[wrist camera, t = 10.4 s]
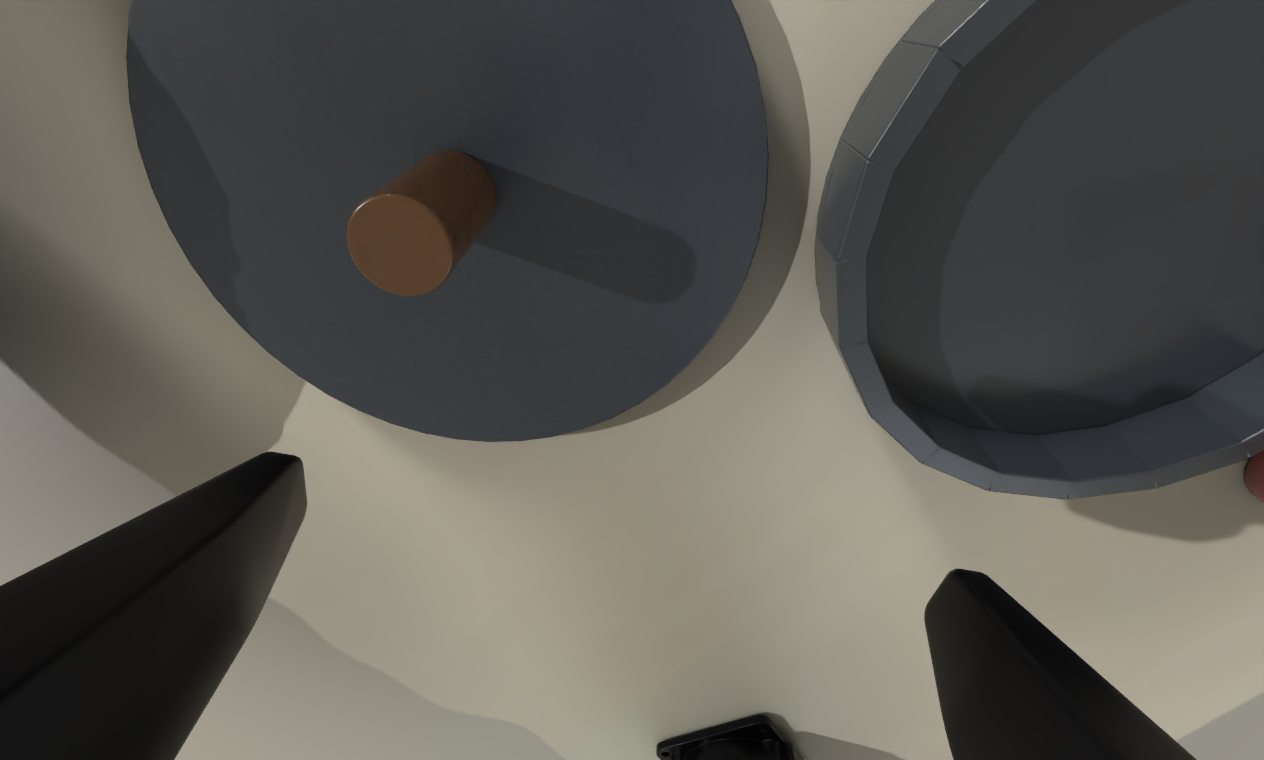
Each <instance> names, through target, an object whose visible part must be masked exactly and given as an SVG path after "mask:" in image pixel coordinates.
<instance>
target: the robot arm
mask: <svg viewBox="0 0 1264 760" xmlns="http://www.w3.org/2000/svg"><path fill="white" fill-rule="evenodd" d="M306 508H307V497H306V488H305V478H304V469H303V463H302V461H301V459H300V458H299V457H297V456H294V455H288V454H282V453H276V452H265V453H262V454H260V455H258V456H256V457H254V458H252V459H250V460H248V461H246V462H244V463H242V464H240V465H238V466H236V467H234V468H232V469H230V470H228V471H226V472H224V473H222V474H220V475H219V476H217V477H215V478H213V479H211V480H209V481H207V482H205V483H203V484H201V485H199V486H197V487H195V488H193V489H191V490H189V491H187V492H185V493H183V494H181V495H179V496H177V497H175V498H173V499H171V500H169V501H167V502H165V503H163V504H162V505H159V506H157V507H155V508H153V509H151V510H149V511H147V512H146V513H143V514H142V515H140V516H138V517H136V518H134V519H132V520H130V521H128V522H126V523H124V524H122V525H120V526H118V527H116V528H114V529H112V530H110V531H108V532H106V533H104V534H102V535H100V536H98V537H96V538H94V539H92V540H90V541H88V542H87V543H84V544H82V545H80V546H78V547H77V548H74V549H72V550H70V551H68V552H67V553H65V554H63V555H61V556H59V557H57V558H55V559H53V560H51V561H49V562H47V563H45V564H43V565H41V566H39V567H37V568H35V569H33V570H31V571H29V572H27V573H25V574H23V575H21V576H19V577H17V578H15V579H14V580H11V581H9V582H7V583H5V584H3V585H2V586H0V760H174V759H175V758H176V756H177V754H178V753H179V751H180V749H181V747H182V746H183V744H184V743H185V741H186V739H187V738H188V736H189V734H190V732H191V731H192V729H193V727H194V726H195V724H196V723H197V721H198V719H199V718H200V716H201V714H202V713H203V711H204V709H205V707H206V706H207V704H208V703H209V701H210V699H211V698H212V696H213V694H214V693H215V691H216V689H217V688H218V686H219V684H220V682H221V681H222V679H223V677H224V676H225V674H226V673H227V671H228V669H229V668H230V666H231V664H232V663H233V661H234V659H235V657H236V656H237V654H238V653H239V651H240V649H241V648H242V646H243V644H244V642H245V641H246V639H247V637H248V635H249V634H250V632H251V630H252V628H253V626H254V625H255V623H256V620H257V618H258V617H259V614H260V612H261V610H262V608H263V606H264V604H265V602H266V599H267V598H268V595H269V593H270V591H271V589H272V587H273V585H274V582H275V580H276V578H277V576H278V574H279V571H280V569H281V567H282V565H283V563H284V561H285V558H286V556H287V554H288V552H289V550H290V548H291V545H292V543H293V541H294V539H295V537H296V535H297V532H298V530H299V528H300V526H301V524H302V521H303V519H304V516H305V513H306ZM925 626H926V632H927V637H928V642H929V648H930V653H931V658H932V664H933V669H934V675H935V680H936V685H937V691H938V696H939V701H940V707H941V712H942V716H943V721H944V726H945V730H946V734H947V738H948V741H949V745H950V749H951V752H952V756H953V759H954V760H1196V759H1195V758H1194V757H1193V756H1192V755H1191V754H1189V753H1188V752H1187V751H1186V750H1185V749H1184V748H1183V747H1181V746H1180V745H1179V744H1178V743H1177V742H1176V741H1175V740H1174V739H1173V738H1171V737H1170V736H1169V735H1168V734H1167V733H1166V732H1165V731H1163V730H1162V729H1161V728H1160V727H1159V726H1158V725H1157V724H1155V723H1154V722H1153V721H1152V720H1151V719H1150V718H1149V717H1148V716H1146V715H1145V714H1144V713H1143V712H1142V711H1141V710H1140V709H1138V708H1137V707H1136V706H1135V705H1134V704H1133V703H1132V702H1130V701H1129V700H1128V699H1127V698H1126V697H1125V696H1124V695H1122V694H1121V693H1120V692H1119V691H1118V690H1117V689H1116V688H1115V687H1113V686H1112V685H1111V684H1110V683H1109V682H1108V681H1107V680H1105V679H1104V678H1103V677H1102V676H1101V675H1100V674H1099V673H1097V672H1096V671H1095V670H1094V669H1093V668H1092V667H1091V666H1090V665H1088V664H1087V663H1086V662H1085V661H1084V660H1083V659H1082V658H1080V657H1079V656H1078V655H1077V654H1076V653H1075V652H1074V651H1072V650H1071V649H1070V648H1069V647H1068V646H1067V645H1066V644H1064V643H1063V642H1062V641H1061V640H1060V639H1059V638H1058V637H1057V636H1055V635H1054V634H1053V633H1052V632H1051V631H1050V630H1049V629H1047V628H1046V627H1045V626H1044V625H1043V624H1042V623H1041V622H1039V621H1038V620H1037V619H1036V618H1035V617H1034V616H1033V615H1032V614H1030V613H1029V612H1028V611H1027V610H1026V609H1025V608H1024V607H1022V606H1021V605H1020V604H1019V603H1018V602H1017V601H1016V600H1014V599H1013V598H1012V597H1011V596H1010V595H1009V594H1008V593H1007V592H1005V591H1004V590H1003V589H1002V588H1001V587H1000V586H999V585H997V584H996V583H995V582H994V581H993V580H992V579H991V578H989V577H988V576H987V575H985V574H983V573H980V572H976V571H970V570H964V569H954V570H952V571H950V572H949V573H948V574H947V576H946V577H945V578H944V580H943V581H942V583H941V584H940V586H939V587H938V589H937V590H936V592H935V593H934V594H933V596H932V597H931V599H930V600H929V602H928V604H927V606H926V609H925ZM656 754H657V756H658V757H659V758H660V759H661V760H804V759H803V757H802V756H801V755H800V753H799V752H798V751H797V749H796V748H795V747H794V746H793V744H792V743H790V742H789V741H786V739H785V738H784V737H783V736H782V734H781V733H780V732H779V730H778V729H777V728H776V726H775V725H774V724H773V723H772V721H771V720H770V719H769V718H768V717H767V716H763V715H759V716H754V717H750V718H747V719H743V720H739V721H736V722H732V723H728V724H725V725H721V726H718V727H714V728H710V729H707V730H703V731H699V732H696V733H692V734H688V735H685V736H681V737H677V738H674V739H670V740H666V741H663V742H660V743H658V744H657V747H656Z"/></svg>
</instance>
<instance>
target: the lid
mask: <svg viewBox="0 0 1264 760" xmlns="http://www.w3.org/2000/svg"><path fill="white" fill-rule="evenodd" d="M126 60H127V74H128V88H129V102H130V108H131V113H132V118H133V123H134V128H135V133H136V138H137V143H138V147H139V150H140V154H141V157H142V160H143V163H144V166H145V169H146V172H147V175H148V178H149V181H150V185H151V188H152V190H153V192H154V194H155V197H156V199H157V201H158V203H159V206H160V208H161V210H162V212H163V215H164V217H165V219H166V221H167V223H168V226H169V228H170V230H171V231H172V233H173V235H174V236H175V238H176V240H177V242H178V243H179V245H180V247H181V248H182V250H183V252H184V254H185V255H186V257H187V259H188V261H189V262H190V264H191V265H192V267H193V268H194V269H195V271H196V272H197V274H198V275H199V276H200V278H201V279H202V280H203V282H204V283H205V285H206V286H207V287H208V289H209V290H210V292H211V293H212V294H213V296H214V297H215V298H216V299H217V300H218V302H219V303H220V304H221V305H222V306H223V307H224V308H225V309H226V311H227V312H228V313H229V314H230V315H231V316H232V317H233V319H234V320H235V321H236V322H237V323H238V324H239V325H240V326H241V327H242V328H243V329H244V330H245V331H246V332H247V333H248V334H249V335H250V336H251V337H252V338H253V339H254V340H256V341H257V342H258V343H259V344H260V345H261V346H262V347H263V348H264V349H265V350H266V351H267V352H268V353H270V354H271V355H272V356H273V357H275V358H276V359H277V360H279V361H280V362H281V363H282V364H284V365H285V366H286V367H288V368H289V369H290V370H291V371H293V372H294V373H295V374H297V375H298V376H299V377H301V378H303V379H304V380H306V381H307V382H309V383H310V384H312V385H314V386H315V387H317V388H318V389H320V390H322V391H323V392H325V393H326V394H328V395H330V396H331V397H333V398H335V399H337V400H339V401H341V402H343V403H345V404H347V405H349V406H351V407H353V408H355V409H357V410H359V411H361V412H364V413H366V414H369V415H371V416H374V417H376V418H379V419H381V420H384V421H386V422H389V423H391V424H394V425H398V426H401V427H405V428H408V429H412V430H415V431H419V432H422V433H426V434H432V435H437V436H442V437H448V438H453V439H461V440H473V441H486V442H500V441H524V440H532V439H539V438H547V437H553V436H557V435H561V434H565V433H569V432H573V431H577V430H581V429H584V428H587V427H589V426H592V425H595V424H597V423H600V422H602V421H605V420H608V419H610V418H613V417H615V416H616V415H618V414H620V413H622V412H624V411H626V410H628V409H630V408H632V407H634V406H635V405H637V404H639V403H641V402H642V401H644V400H645V399H647V398H648V397H649V396H651V395H652V394H654V393H655V392H657V391H658V390H659V389H661V388H662V387H664V386H665V385H667V384H668V383H669V382H670V381H671V380H672V379H673V378H674V377H675V376H676V375H678V374H679V373H680V372H681V371H682V370H683V369H684V368H685V367H686V366H688V365H689V364H690V363H691V362H692V360H693V359H694V358H695V357H696V356H697V355H698V353H699V352H700V351H701V350H702V349H703V348H704V346H705V345H706V344H707V343H708V342H709V341H710V339H711V338H712V337H713V336H714V334H715V332H716V331H717V329H718V328H719V326H720V325H721V323H722V322H723V320H724V319H725V317H726V315H727V314H728V312H729V311H730V309H731V308H732V306H733V304H734V302H735V299H736V297H737V295H738V293H739V291H740V289H741V287H742V285H743V283H744V281H745V278H746V276H747V274H748V271H749V268H750V265H751V262H752V259H753V255H754V252H755V249H756V246H757V243H758V240H759V236H760V231H761V225H762V220H763V214H764V209H765V203H766V197H767V178H768V159H769V154H768V141H767V127H766V114H765V107H764V103H763V98H762V93H761V88H760V83H759V78H758V73H757V69H756V64H755V61H754V58H753V55H752V52H751V50H750V47H749V44H748V41H747V38H746V35H745V32H744V29H743V26H742V23H741V20H740V17H739V15H738V13H737V11H736V9H735V7H734V5H733V3H732V1H731V0H132V1H131V6H130V10H129V23H128V39H127V55H126Z"/></svg>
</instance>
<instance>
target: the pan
mask: <svg viewBox="0 0 1264 760" xmlns="http://www.w3.org/2000/svg"><path fill="white" fill-rule="evenodd" d="M815 268H816V283H817V288H818V293H819V298H820V311H821V314H822V316H823V319H824V321H825V323H826V325H827V328H828V330H829V332H830V334H831V337H832V339H833V341H834V343H835V345H836V347H837V350H838V352H839V354H840V356H841V358H842V361H843V363H844V365H845V367H846V369H847V372H848V374H849V376H850V378H851V380H852V382H853V384H854V386H855V388H856V390H857V392H858V394H859V396H860V398H861V400H862V402H863V404H864V406H865V408H866V410H867V412H868V414H869V415H870V416H871V417H872V418H873V419H874V420H875V421H876V422H877V423H878V424H879V425H880V426H881V427H882V428H884V429H885V430H886V431H887V432H888V433H889V434H890V435H891V436H892V437H893V438H894V439H895V440H896V441H898V442H899V443H900V444H901V445H902V446H903V447H904V448H905V449H906V450H907V451H908V452H909V453H910V454H911V455H913V456H914V457H915V458H916V459H917V460H918V461H919V462H921V463H922V464H925V465H927V466H929V467H932V468H934V469H937V470H939V471H941V472H944V473H946V474H948V475H951V476H953V477H956V478H958V479H960V480H963V481H965V482H968V483H970V484H972V485H975V486H977V487H980V488H982V489H984V490H988V491H994V492H1003V493H1012V494H1021V495H1030V496H1039V497H1048V498H1057V499H1073V498H1082V497H1090V496H1099V495H1107V494H1115V493H1124V492H1132V491H1141V490H1149V489H1153V488H1160V487H1163V486H1166V485H1169V484H1172V483H1175V482H1178V481H1181V480H1184V479H1188V478H1191V477H1194V476H1197V475H1200V474H1203V473H1206V472H1209V471H1212V470H1215V469H1219V468H1222V467H1225V466H1228V465H1231V464H1234V463H1237V462H1240V461H1243V460H1246V459H1248V457H1252V456H1254V455H1256V454H1258V453H1260V452H1262V451H1264V0H935V1H934V2H933V3H932V4H931V5H930V6H929V7H928V8H927V9H926V10H925V11H924V12H923V13H922V14H921V15H920V16H919V17H918V18H917V20H916V21H915V22H914V23H913V25H912V26H911V27H910V28H909V30H908V31H907V32H906V33H905V34H904V36H903V37H902V38H901V39H900V41H899V42H898V43H897V44H896V46H895V47H894V48H893V49H892V51H891V52H890V53H889V54H888V56H887V57H886V58H885V60H884V61H883V63H882V65H881V66H880V68H879V69H878V71H877V72H876V74H875V75H874V77H873V79H872V80H871V82H870V83H869V85H868V86H867V88H866V89H865V91H864V93H863V94H862V96H861V97H860V99H859V101H858V103H857V105H856V107H855V109H854V111H853V113H852V115H851V117H850V119H849V121H848V123H847V125H846V127H845V129H844V131H843V133H842V135H841V137H840V140H839V143H838V146H837V148H836V151H835V154H834V157H833V159H832V162H831V165H830V168H829V170H828V173H827V176H826V180H825V185H824V189H823V193H822V198H821V202H820V206H819V211H818V218H817V229H816V239H815Z"/></svg>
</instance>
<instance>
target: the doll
mask: <svg viewBox="0 0 1264 760" xmlns="http://www.w3.org/2000/svg"><path fill="white" fill-rule="evenodd" d="M1245 482H1246V485H1247V487H1248V489H1249V490H1250V492H1251V493H1252V494H1254V495H1255V496H1256V497H1257V498H1258V499H1260V500H1261V501H1262V502H1263V503H1264V451H1262V452H1260V453H1258V454H1256V455H1254V456H1253V457H1252V458H1251V460H1250V461H1249V463H1248V465H1247V468H1246V472H1245Z"/></svg>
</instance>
